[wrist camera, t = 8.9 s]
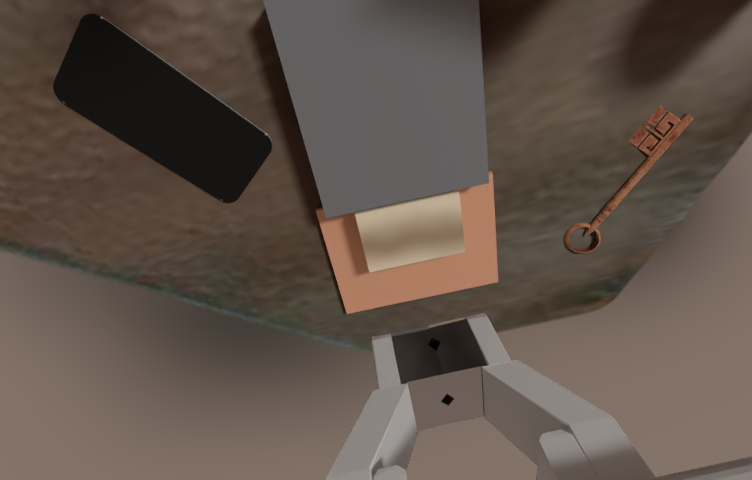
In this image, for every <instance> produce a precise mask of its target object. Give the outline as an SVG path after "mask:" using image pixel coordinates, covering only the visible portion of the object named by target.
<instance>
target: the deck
mask: <svg viewBox="0 0 752 480" xmlns="http://www.w3.org/2000/svg"><path fill="white" fill-rule="evenodd" d="M263 2H264V5H265V9H266V12H267V16H268V19H269V23H270V26H271V30H272V33H273V36H274V40H275V43H276V47H277V50H278V54H279V57H280V61H281V64H282V68H283V71H284V74H285V78H286V81H287V85H288V88H289V92H290V95H291V99H292V102H293V106H294V109H295V112H296V116H297V119H298V123H299V126H300V130H301V133H302V137H303V140H304V144H305V147H306V150H307V154H308V157H309V161H310V164H311V168H312V171H313V175H314V178H315V182H316V185H317V188H318V192H319V195H320V199H321V202H322V206H323V209H324V213H325V216H326V218H330V217H334V216H339V215H344V214H348V213H353V212H357V211H362V210H367V209H371V208H376V207H381V206H385V205H390V204H395V203H399V202H404V201H408V200H413V199H418V198H422V197H427V196H432V195H436V194H441V193H446V192H450V191H455V190H459V189H464V188H469V187H473V186H478V185H483V184H487V183H489V171H488V153H487V135H486V118H485V100H484V82H483V64H482V47H481V29H480V11H479V0H263Z"/></svg>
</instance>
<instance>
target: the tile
mask: <svg viewBox="0 0 752 480" xmlns="http://www.w3.org/2000/svg"><path fill="white" fill-rule="evenodd" d="M355 217H356V221H357V225H358V229H359V233H360V237H361V241H362V245H363V249H364V253H365V257H366V261H367V265H368V269H369V273H370V272H375V271H379V270H384V269H389V268H393V267H398V266H402V265H407V264H412V263H416V262H421V261H426V260H430V259H435V258H440V257H444V256H449V255H454V254H458V253H463V252H465V243H464V233H463V223H462V213H461V203H460V194H459V191H458V190H455V191H450V192H446V193H441V194H436V195H432V196H427V197H422V198H418V199H413V200H408V201H404V202H399V203H395V204H390V205H385V206H381V207H376V208H371V209H367V210H362V211H357V212H355Z"/></svg>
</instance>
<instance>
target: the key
mask: <svg viewBox="0 0 752 480" xmlns="http://www.w3.org/2000/svg"><path fill="white" fill-rule="evenodd" d="M666 112H667V110H666V109H665V108H663V107H662V106H660V107H659V108H658V109H657V110H656V113H655V114H654V113H653V114H652V116H651V117H650V118H649V119H648V120H647V121H646V122H647V123H649V124H650V125H651V126H653V127H654V126H655V125H656V123H657V122H658V121H659V120H660V119H661V118H662V116H663V115H664V114H665V113H666ZM693 119H694V118H693V117H691V116H690V115H687V114H685V115H684V116H683V117H682V118H681V119H679V118H677V117H676V116H674V115H673V114H672V113H670V112H668V113H667V114H666V115H665V116H664V118H663V119H662V120H661V121H660V122H659V123H658V125H657V126H656V127H655V129H657V130H658V131H659V132H661V133H662V134H664V133H665V132H666V131H667V130H668V129H669V128H670V125H669V124H668V122H671V123H672V124H673V125H672V127H671V128H670V129H669V130H668V131H667V132H666V133H665V135H664V136H663V137H662V136H661V135H659V134H658V133H656V132H655V131H653V130H652V129H651V128H649V127H648V126H646V125H645V124H643V125H642V126H644V127H645V128H646V129H648V130H649V131H650V132H652V133H653V134H655V135H656V136H657V137H659V138H660V140H659V141H658V140H657V139H656V138H654V137H653V136H651V135H650V134H649V135H648V136H647V138H646V139H645V140H644V141H643V142H642V143H641V145H640V146H639V147H638V148H639V149H640V150H642V151H643V152H645V153H646V154H647V155H649V156H648V157H647V158H646V159H645V160H644V162H643V163H642V164H641V165H640V166H639V167H638V168H637V170H636V171H635V172H634V173H633V174H632V175H631V177H630V178H629V179H628V180H627V181H626V182H625V183H624V185H623V186H622V187H621V188H620V189H619V190H618V191H617V193H616V194H615V195H614V196H613V197H612V198H611V200H610V201H609V202H607V203H606V205H605V207H604V208H602V210H601V212H600V213H599V214H598V215H596V217H595V219H594V220H593V221H592V222H591V223H590V224H587V223H578V224H575V225H573V226H571V227H570V228H569V229H568V230H567V231H566V233H565V236H564V242H565V244H566V246H567V247H568V248H569V249H570V250H572V251H574V252H577V253H588V252H591V251H593V250H595V249H596V248H597V247H598V245H599V244H600V241H601V236H600V233H599V231H598V230H597V229H596V228H597V227H598V226H599V225H600V224H601V222H603V221H604V219H605V218H606V217H607V216H609V215H610V212H611V211H612V210H614V209H616V208H617V207H616V206H617V205H618V204H619V203H620V202H621V201H622V199H623V198H624V197H625V196H626V195H627V194H628V193H629V191H630V190H631V189H632V188H633V187H634V186H635V185H636V184H637V182H638V181H639V180H640V179H641V178H642V177H643V176H644V174H645V173H646V172H647V171H648V170H649V169H650V168H651V166H652V165H653V164H654V163H655V162H656V161H657V160H658V159H659V157H660V156H661V155H662V154H663V153H664V152H665V151H666V149H667V148H668V147H669V146H670V145H671V144H672V143H673V142H674V140H675V139H676V138H677V137H678V136H679V135H680V134H681V132H682V131H683V130H684V129H685V128H686V127H687V126H688V125H689V123H690V122H691V121H692V120H693ZM647 134H648V133H647V132H646V131H644V130H643V129H641V128H640V129H639V130H638V131H637V132H636V133H635V134H634V135H633V136H634V137H635V138H634V139H632V138H631V139H630V140H629V142H630V143H632V144H633V145H635V146H636V147H637V146H638V145H639V144H640V142H641V141H642V140H643V139H644V138H645V136H646V135H647ZM657 141H658V142H657ZM656 143H657V144H656ZM655 144H656V145H655ZM654 145H655V146H654ZM647 146H648V147H649V148H652V147H653V146H654V147H653V148H652V149H651V150H650V151H649V150H648V149H646V147H647ZM580 227H587V228H586V231H585V234H584V235H585V236H587V235H588V234H590V233H592V232H594V231H595V233H596V240H595V242H594V243H593V244H592V245H591V246H590V247H588V248H586V249H583V250H578V249H574V248H572V247H571V246H570V244H569V236H570V234H571V232H572V231H574V230H575V229H577V228H580Z"/></svg>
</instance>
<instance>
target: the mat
mask: <svg viewBox="0 0 752 480" xmlns="http://www.w3.org/2000/svg"><path fill="white" fill-rule="evenodd" d="M458 191H459V194H460V203H461V213H462V223H463V233H464V243H465V252H463V253H458V254H454V255H449V256H444V257H440V258H435V259H430V260H426V261H421V262H416V263H412V264H407V265H402V266H398V267H393V268H389V269H384V270H379V271H375V272H370V273H369V269H368V265H367V261H366V257H365V253H364V249H363V245H362V241H361V237H360V233H359V229H358V225H357V221H356V217H355V212H353V213H348V214H344V215H339V216H334V217H330V218H326V216H325V213H324V209H323V207H322V208H317V209H316V213H317V217H318V220H319V223H320V227H321V230H322V233H323V237H324V240H325V243H326V247H327V250H328V253H329V257H330V260H331V263H332V266H333V270H334V273H335V276H336V280H337V283H338V286H339V290H340V293H341V296H342V300H343V303H344V306H345V310H346V313H347V314H349V313H353V312H358V311H363V310H368V309H372V308H377V307H382V306H387V305H391V304H396V303H401V302H406V301H410V300H415V299H420V298H425V297H429V296H434V295H439V294H444V293H448V292H453V291H458V290H463V289H467V288H472V287H477V286H482V285H486V284H491V283H496V282H498V268H497V248H496V228H495V209H494V189H493V173H492V172H491V171H489V183H487V184H483V185H478V186H473V187H469V188H464V189H459V190H458Z"/></svg>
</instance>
